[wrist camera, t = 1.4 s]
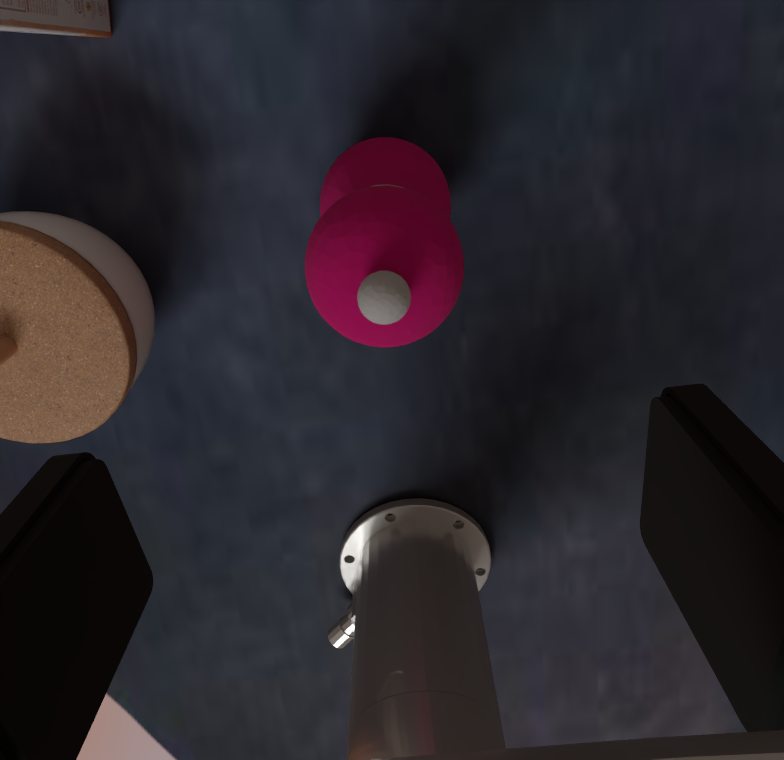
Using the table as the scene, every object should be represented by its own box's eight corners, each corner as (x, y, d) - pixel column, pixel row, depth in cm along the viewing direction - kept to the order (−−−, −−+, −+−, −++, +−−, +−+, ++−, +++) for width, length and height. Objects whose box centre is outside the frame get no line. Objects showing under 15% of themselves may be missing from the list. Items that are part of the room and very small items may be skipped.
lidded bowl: (159, 397, 43) (92, 493, 33) (-23, 336, 41) (-153, 420, 31) (202, 236, 38) (137, 294, 28) (-5, 157, 35) (-156, 189, 26)
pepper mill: (322, 132, 35) (254, 192, 17) (445, 128, 35) (505, 185, 17) (331, 253, 38) (282, 408, 20) (443, 249, 38) (492, 403, 20)
